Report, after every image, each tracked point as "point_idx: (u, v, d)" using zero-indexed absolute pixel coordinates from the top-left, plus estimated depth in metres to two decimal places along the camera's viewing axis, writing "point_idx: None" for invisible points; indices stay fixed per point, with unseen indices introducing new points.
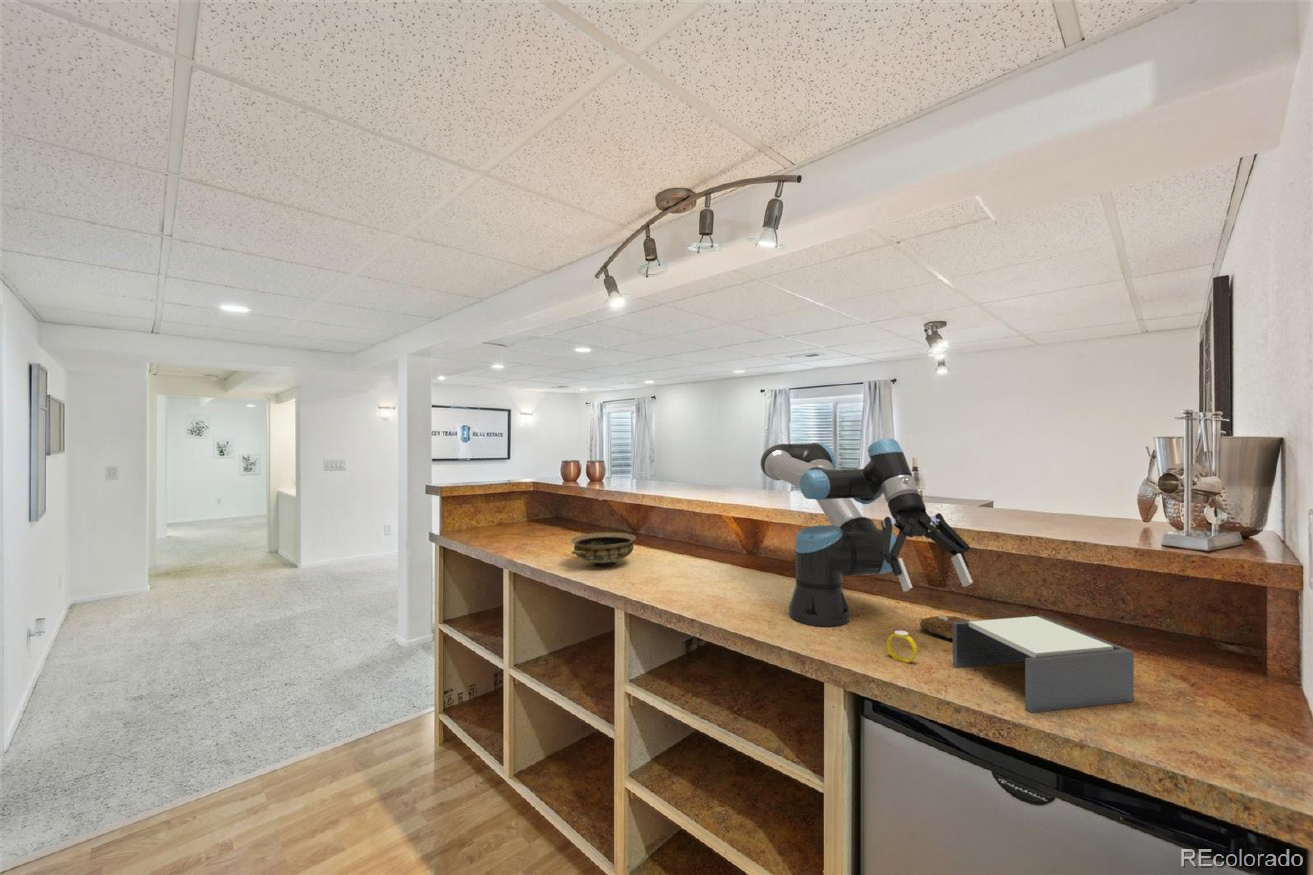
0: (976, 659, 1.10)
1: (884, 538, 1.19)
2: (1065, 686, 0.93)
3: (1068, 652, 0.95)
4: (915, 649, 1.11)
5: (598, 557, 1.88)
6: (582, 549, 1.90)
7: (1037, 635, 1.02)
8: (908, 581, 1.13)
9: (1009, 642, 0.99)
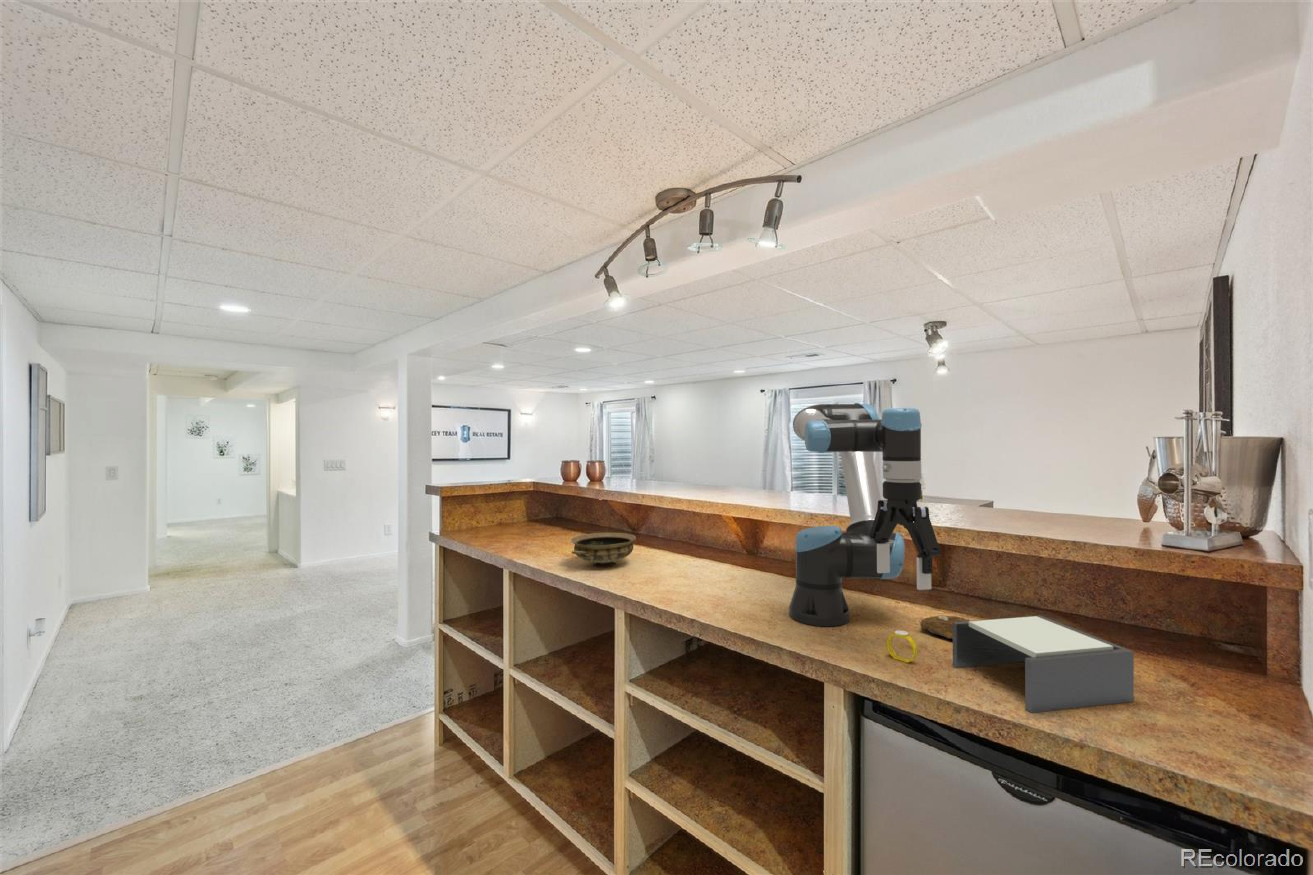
0: (976, 659, 1.10)
1: None
2: (1065, 686, 0.93)
3: (1068, 652, 0.95)
4: (915, 649, 1.11)
5: (598, 557, 1.88)
6: (582, 549, 1.90)
7: (1037, 635, 1.02)
8: (877, 567, 1.20)
9: (1009, 642, 0.99)
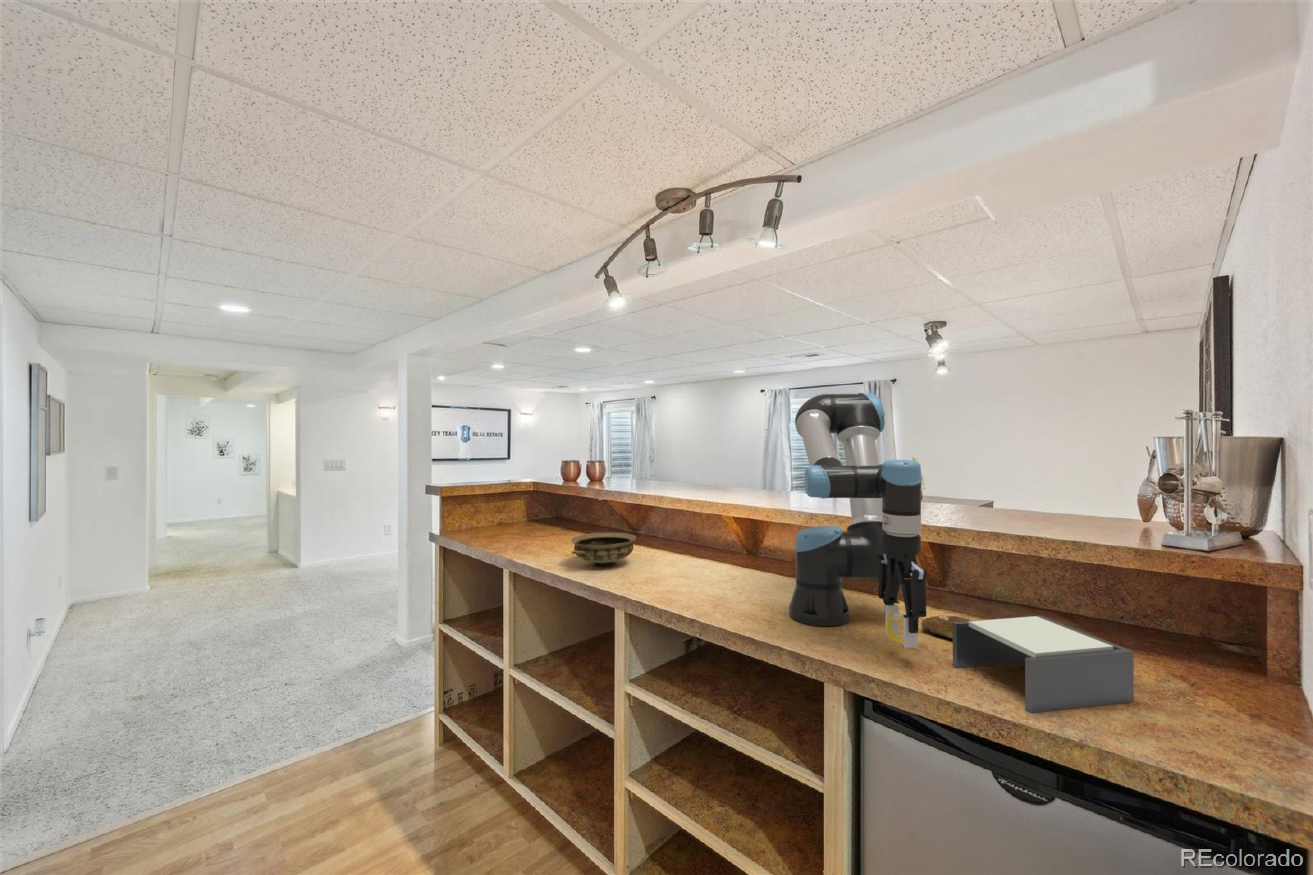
0: (976, 659, 1.10)
1: None
2: (1065, 686, 0.93)
3: (1068, 652, 0.95)
4: None
5: (598, 557, 1.88)
6: (582, 549, 1.90)
7: (1037, 635, 1.02)
8: None
9: (1009, 642, 0.99)
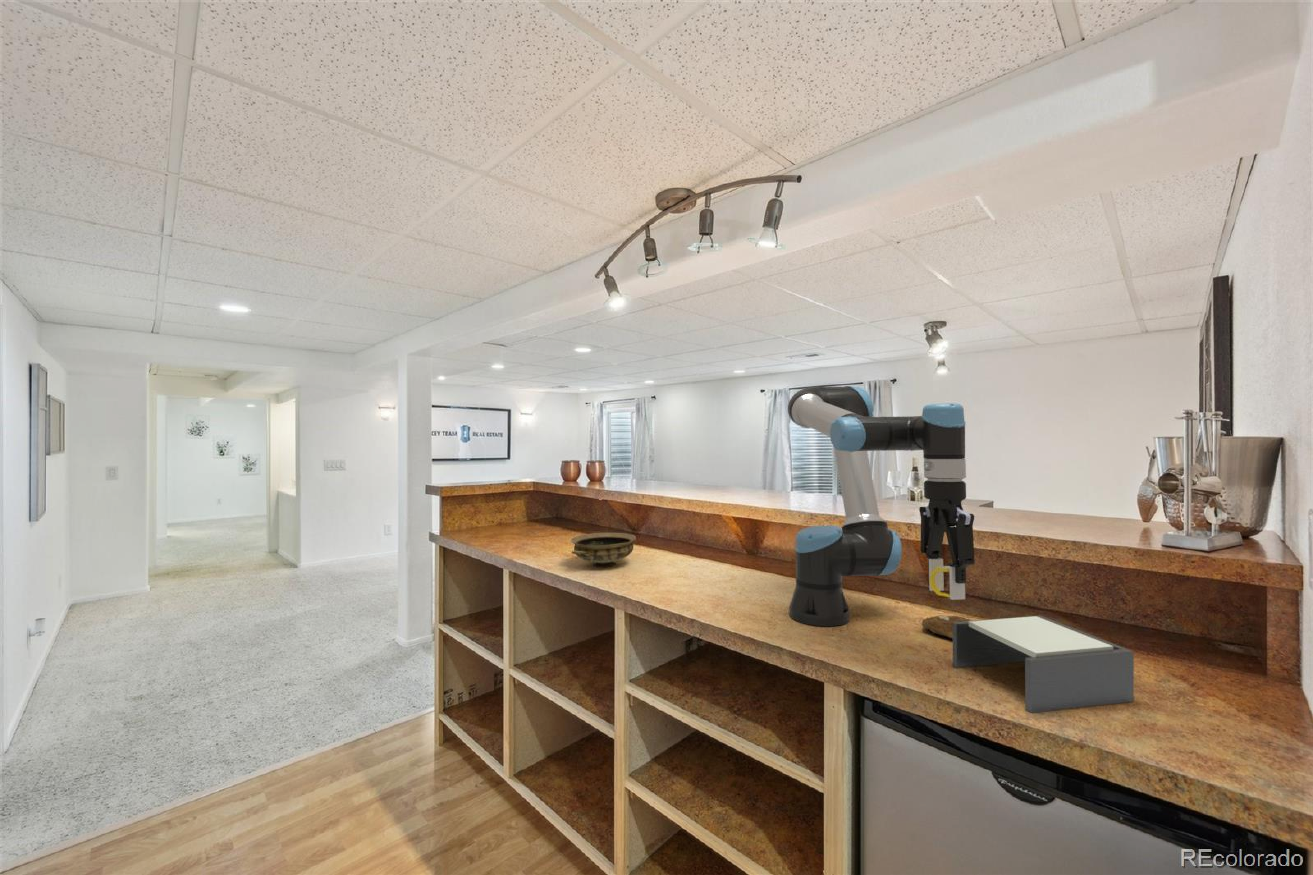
0: (976, 659, 1.10)
1: None
2: (1065, 686, 0.93)
3: (1068, 652, 0.95)
4: None
5: (598, 557, 1.88)
6: (582, 549, 1.90)
7: (1037, 635, 1.02)
8: (930, 584, 1.11)
9: (1009, 642, 0.99)
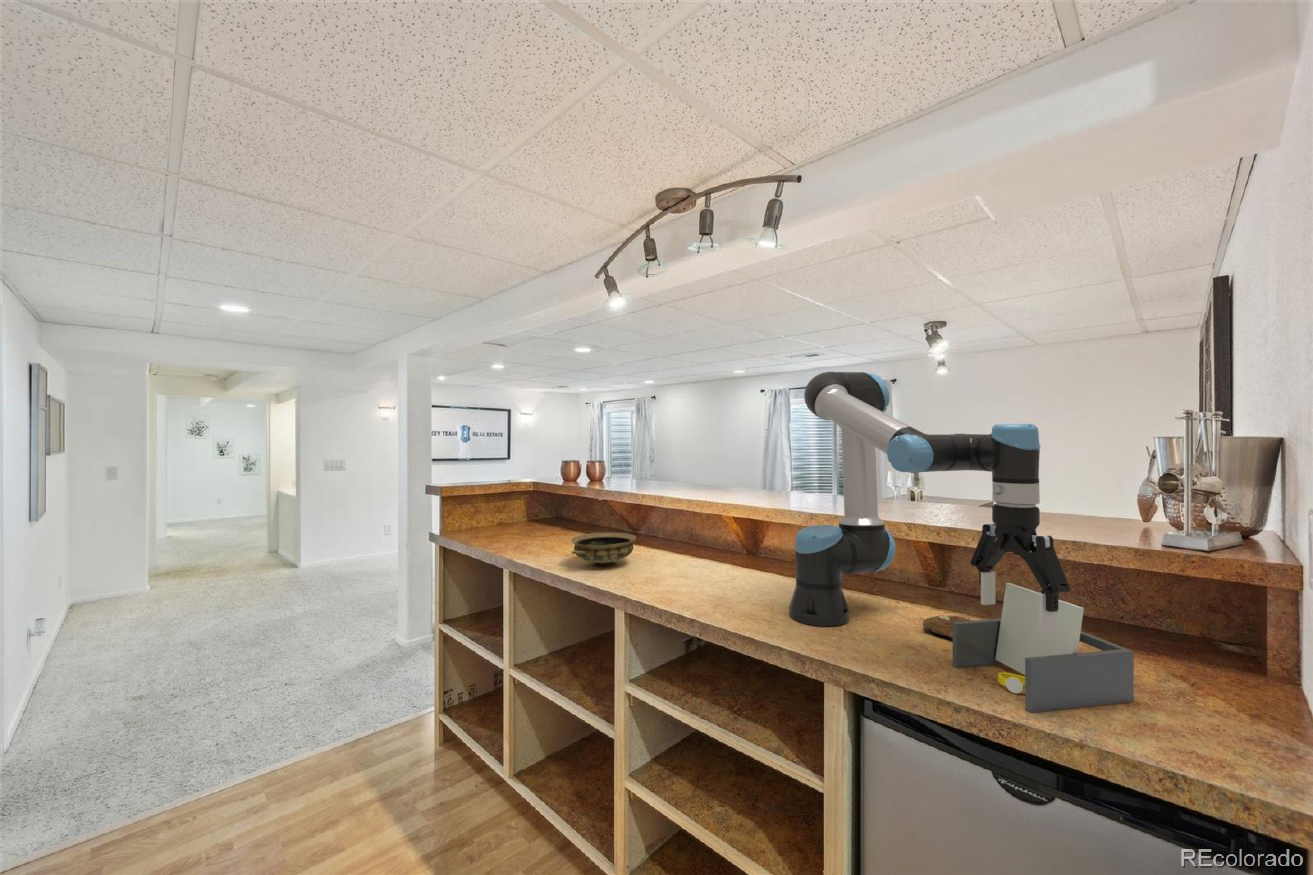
0: (976, 659, 1.10)
1: None
2: (1065, 686, 0.93)
3: None
4: None
5: (598, 557, 1.88)
6: (582, 549, 1.90)
7: (1037, 640, 1.02)
8: (982, 597, 1.09)
9: None
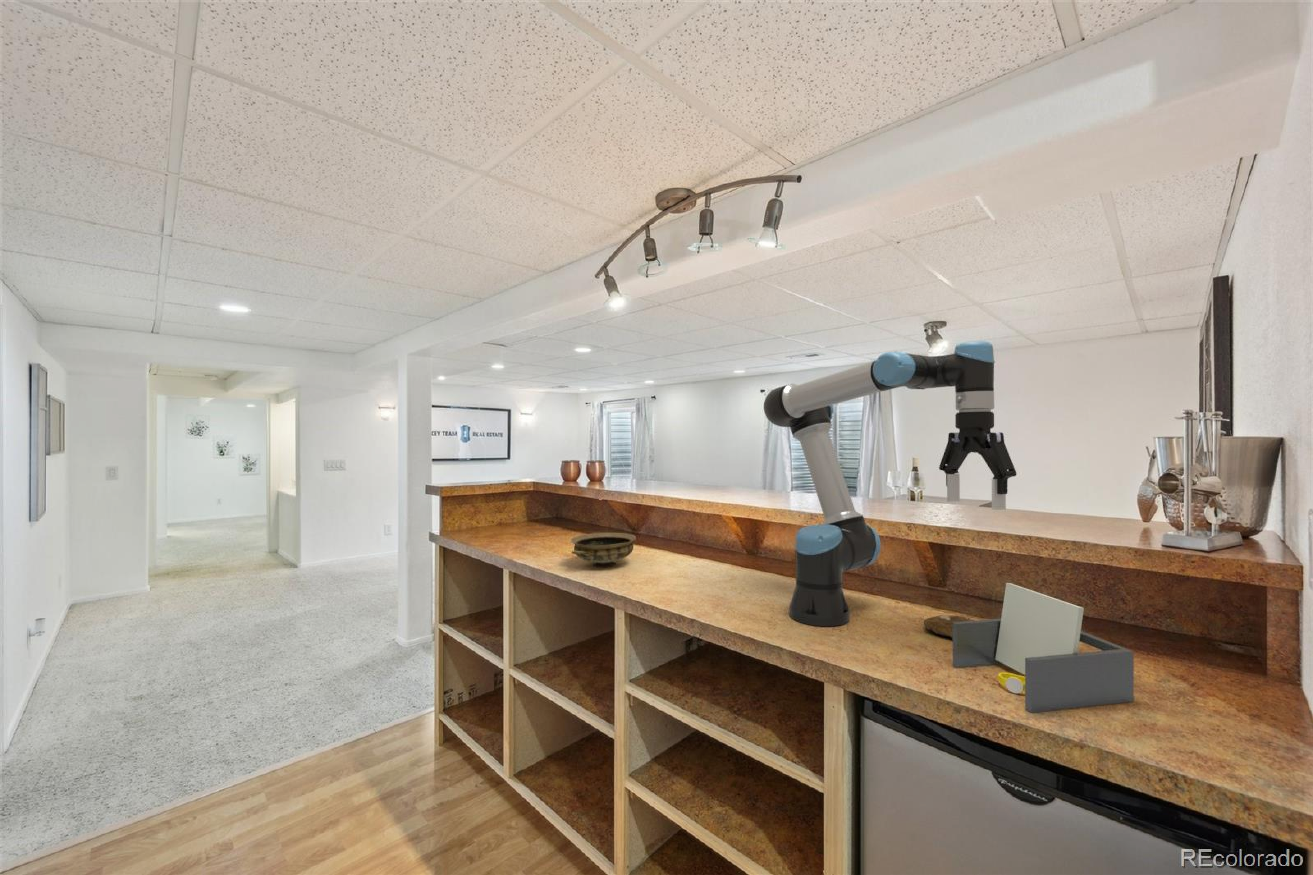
0: (976, 659, 1.10)
1: None
2: (1065, 686, 0.93)
3: None
4: None
5: (598, 557, 1.88)
6: (582, 549, 1.90)
7: (1037, 640, 1.02)
8: (948, 495, 1.27)
9: None
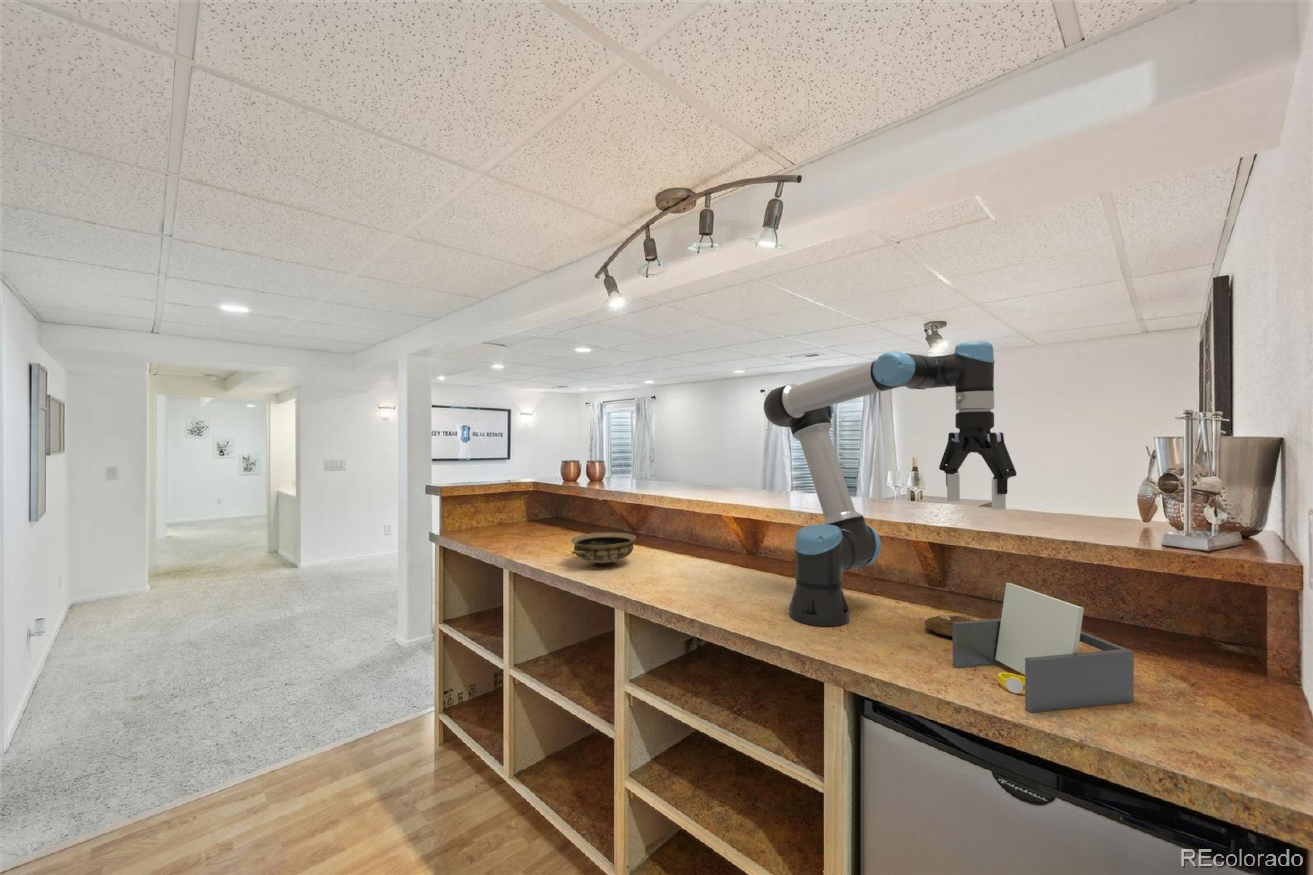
0: (976, 659, 1.10)
1: None
2: (1065, 686, 0.93)
3: None
4: None
5: (598, 557, 1.88)
6: (582, 549, 1.90)
7: (1037, 640, 1.02)
8: (948, 495, 1.27)
9: None
